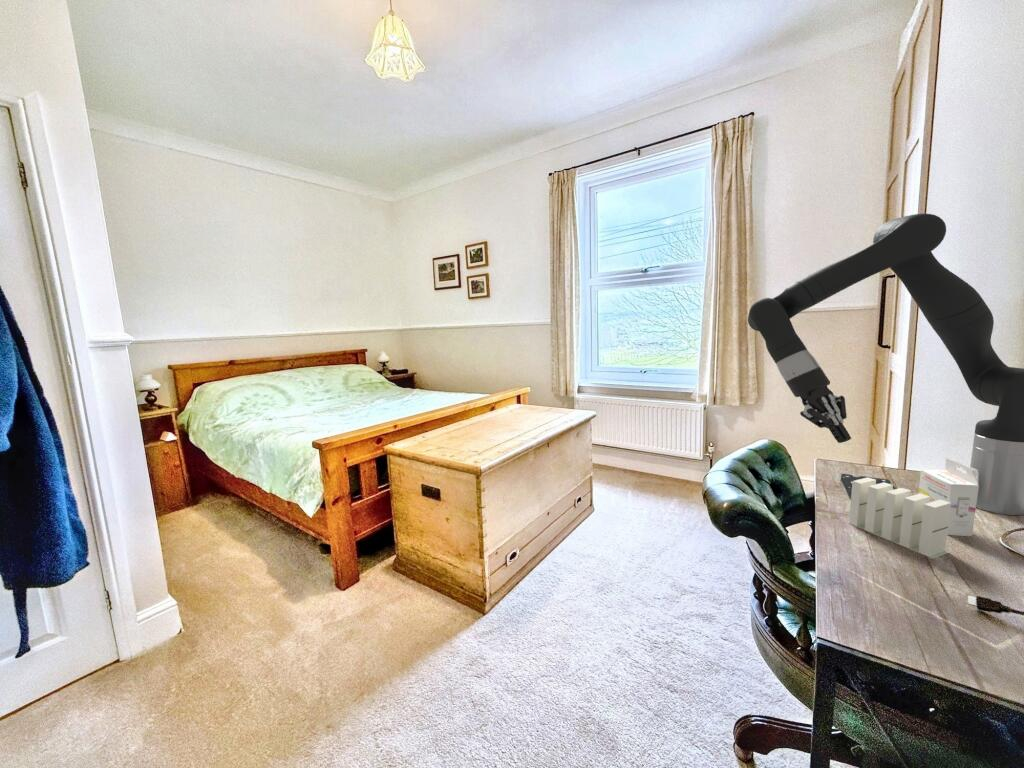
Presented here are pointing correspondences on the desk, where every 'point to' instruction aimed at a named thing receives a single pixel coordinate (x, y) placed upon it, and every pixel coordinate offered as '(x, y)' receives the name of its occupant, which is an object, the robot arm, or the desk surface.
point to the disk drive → (849, 479)
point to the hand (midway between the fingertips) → (845, 441)
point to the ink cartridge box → (953, 494)
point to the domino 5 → (934, 527)
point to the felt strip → (915, 548)
